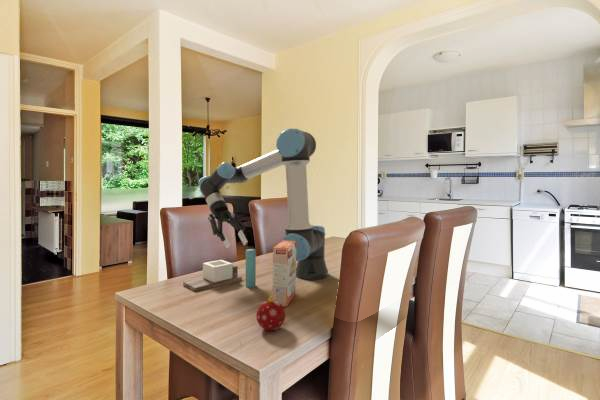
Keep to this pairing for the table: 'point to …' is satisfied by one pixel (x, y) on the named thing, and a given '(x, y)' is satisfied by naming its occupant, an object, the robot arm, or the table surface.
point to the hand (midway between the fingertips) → (237, 244)
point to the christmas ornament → (270, 314)
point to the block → (217, 270)
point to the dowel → (250, 268)
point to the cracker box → (284, 272)
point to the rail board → (205, 284)
